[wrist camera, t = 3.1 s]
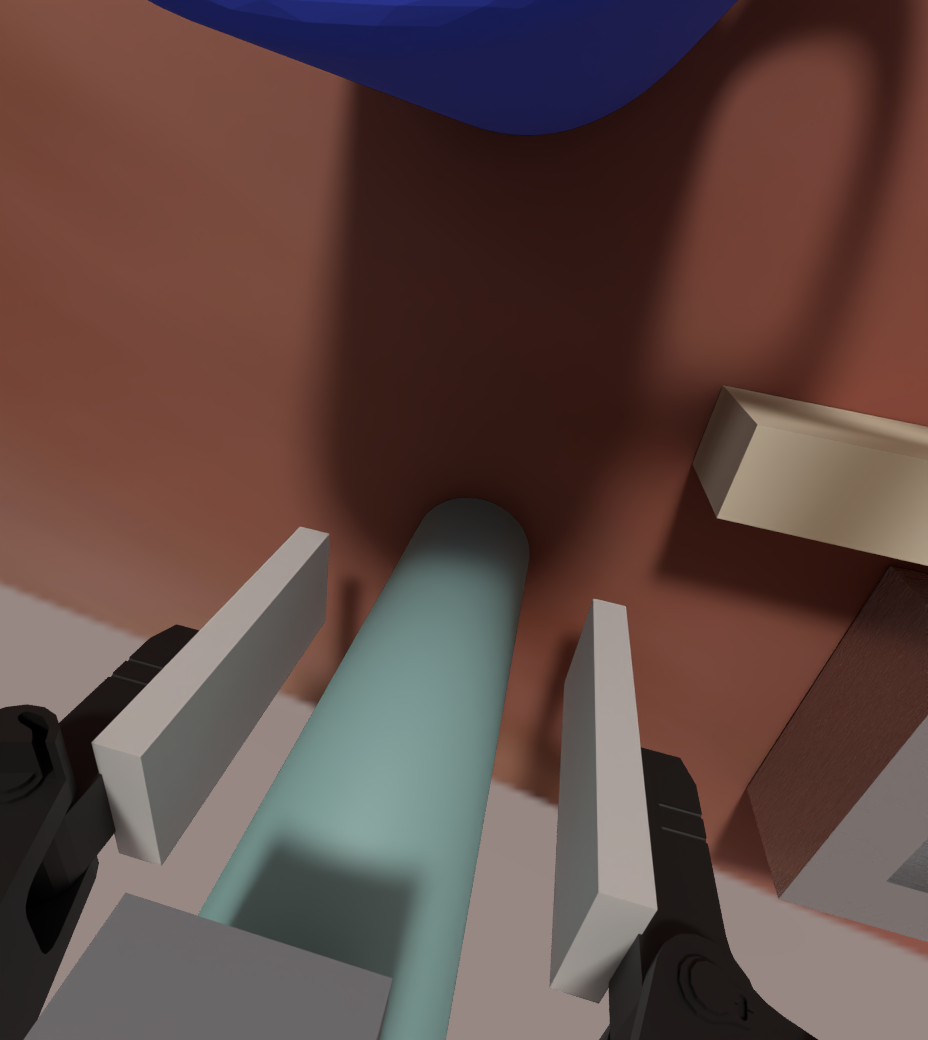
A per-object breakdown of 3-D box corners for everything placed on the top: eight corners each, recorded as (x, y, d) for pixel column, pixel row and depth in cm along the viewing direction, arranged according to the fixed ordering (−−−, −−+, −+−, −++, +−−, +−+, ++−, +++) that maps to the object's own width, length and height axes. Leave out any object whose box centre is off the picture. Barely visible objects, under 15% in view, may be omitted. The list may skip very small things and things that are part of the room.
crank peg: (401, 639, 18) (80, 1352, 7) (433, 406, 14) (-200, 1138, 3) (502, 665, 18) (348, 1460, 6) (561, 435, 14) (446, 1389, 3)
